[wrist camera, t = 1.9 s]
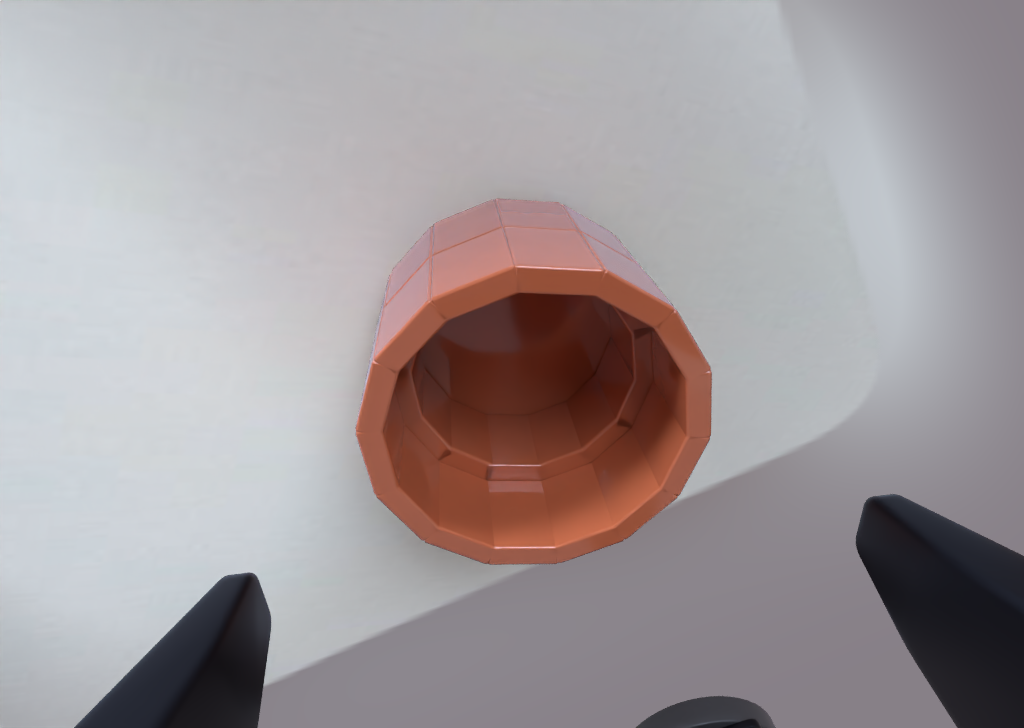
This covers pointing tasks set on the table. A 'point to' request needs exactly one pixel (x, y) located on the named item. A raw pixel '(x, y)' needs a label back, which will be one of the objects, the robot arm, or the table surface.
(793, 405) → the table surface
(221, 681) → the robot arm
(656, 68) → the table surface
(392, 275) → the terracotta flower pot
